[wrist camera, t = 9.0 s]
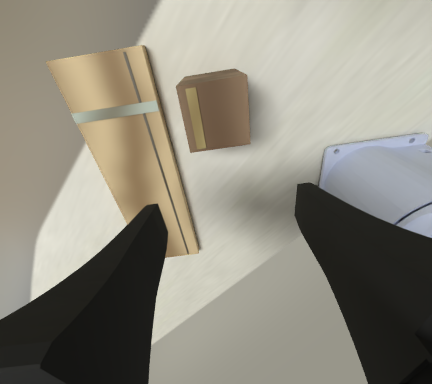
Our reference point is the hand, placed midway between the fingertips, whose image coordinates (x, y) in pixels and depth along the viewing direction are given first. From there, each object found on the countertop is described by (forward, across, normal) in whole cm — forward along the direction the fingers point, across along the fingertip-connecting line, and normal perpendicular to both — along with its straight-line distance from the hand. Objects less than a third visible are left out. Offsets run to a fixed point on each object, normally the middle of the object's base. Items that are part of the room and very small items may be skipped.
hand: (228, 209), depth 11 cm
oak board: (+10, +8, +3) cm, 13 cm away
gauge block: (+10, 0, -4) cm, 11 cm away
